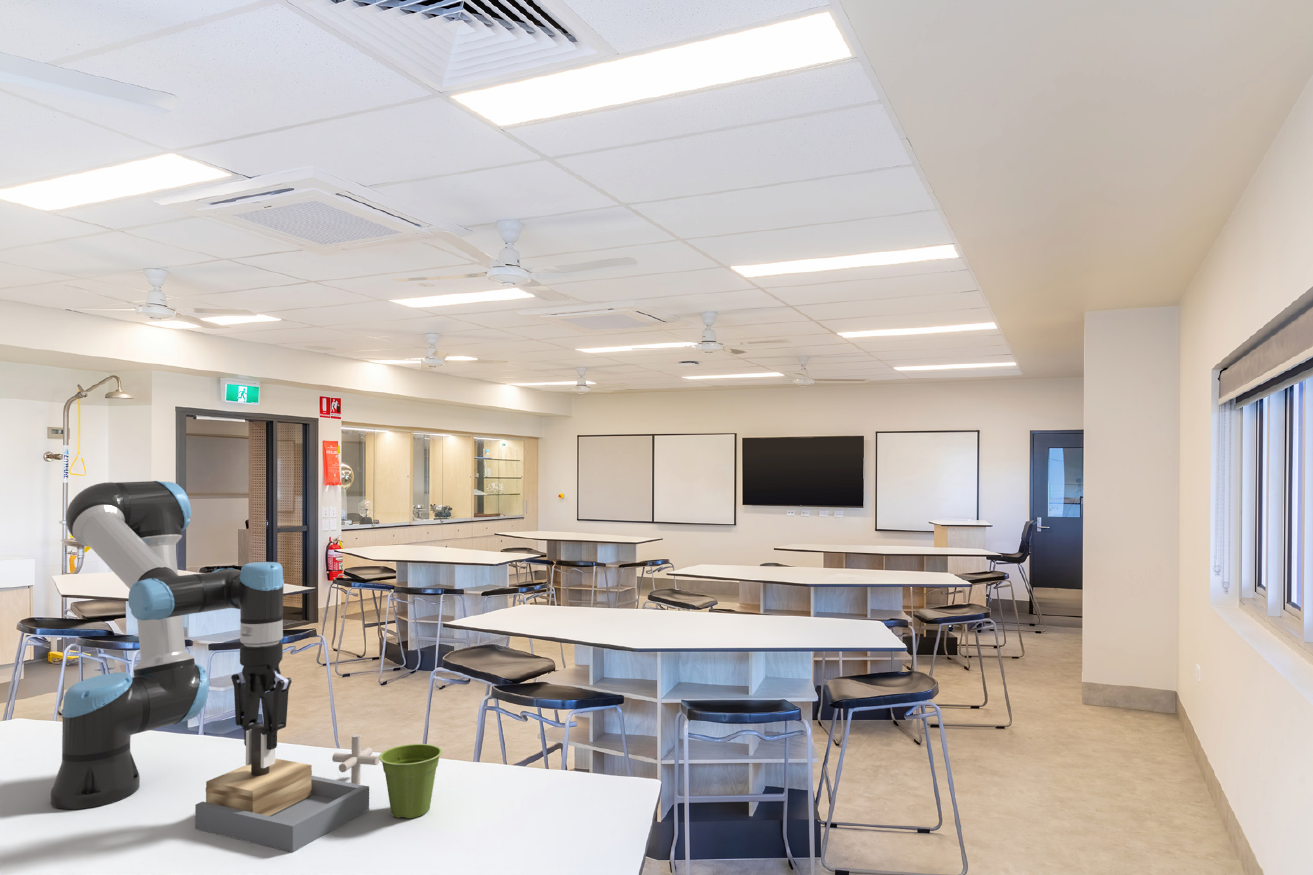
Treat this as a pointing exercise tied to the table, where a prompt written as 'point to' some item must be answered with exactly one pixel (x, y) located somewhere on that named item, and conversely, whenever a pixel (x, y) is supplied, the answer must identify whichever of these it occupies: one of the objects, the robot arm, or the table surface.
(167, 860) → the table surface
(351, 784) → the bay
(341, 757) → the pipe connector
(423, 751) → the plant pot
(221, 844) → the table surface
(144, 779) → the table surface
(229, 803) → the wooden block with peg
